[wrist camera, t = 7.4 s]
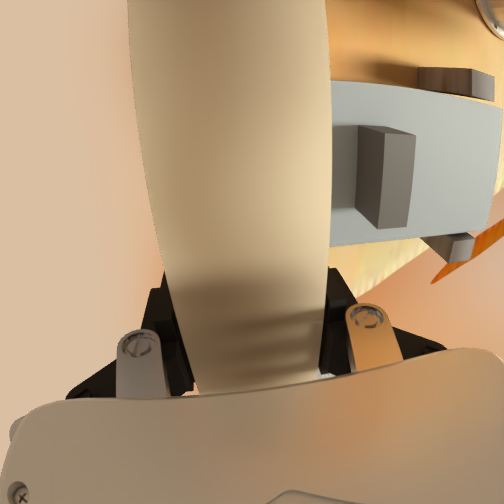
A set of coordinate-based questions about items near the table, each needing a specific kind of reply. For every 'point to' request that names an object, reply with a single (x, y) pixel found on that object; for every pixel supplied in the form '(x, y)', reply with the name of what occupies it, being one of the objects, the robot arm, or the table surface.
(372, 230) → the lid
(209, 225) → the smooth beige tapered object
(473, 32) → the table surface
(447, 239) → the brown wooden box
